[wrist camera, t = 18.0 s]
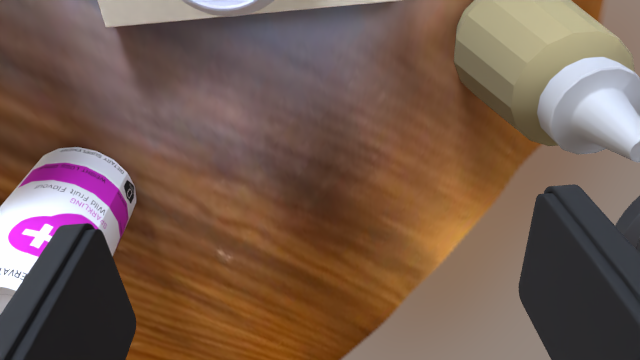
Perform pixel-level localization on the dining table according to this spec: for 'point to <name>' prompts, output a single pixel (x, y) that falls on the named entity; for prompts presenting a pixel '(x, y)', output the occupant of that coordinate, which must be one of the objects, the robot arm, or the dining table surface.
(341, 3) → the serving board
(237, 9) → the beverage can
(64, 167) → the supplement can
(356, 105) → the dining table surface
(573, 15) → the squeeze bottle
